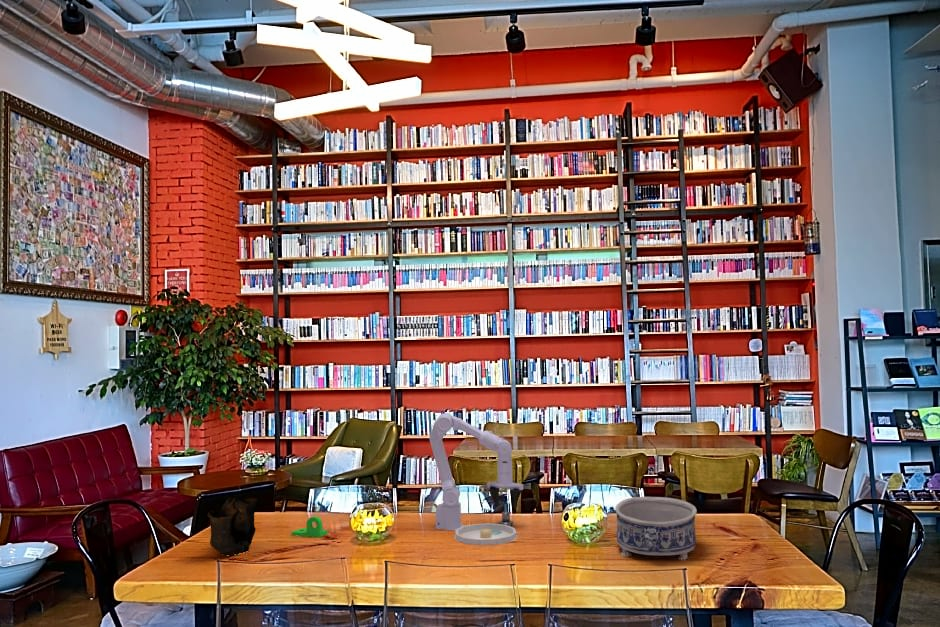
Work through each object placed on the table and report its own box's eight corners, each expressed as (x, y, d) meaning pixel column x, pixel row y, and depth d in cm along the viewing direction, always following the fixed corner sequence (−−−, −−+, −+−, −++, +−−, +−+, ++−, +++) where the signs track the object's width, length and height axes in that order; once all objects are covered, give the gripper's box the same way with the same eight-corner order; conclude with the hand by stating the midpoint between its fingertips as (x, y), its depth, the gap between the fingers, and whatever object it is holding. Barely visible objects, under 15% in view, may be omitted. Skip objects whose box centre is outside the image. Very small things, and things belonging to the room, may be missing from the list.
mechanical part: (327, 535, 275) (327, 513, 275) (319, 539, 269) (319, 517, 269) (299, 533, 278) (299, 512, 279) (291, 537, 273) (291, 516, 273)
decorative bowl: (622, 532, 269) (621, 491, 270) (697, 536, 262) (695, 494, 262) (611, 567, 229) (609, 519, 229) (699, 573, 221) (697, 524, 222)
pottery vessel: (237, 543, 265) (236, 489, 266) (265, 544, 263) (264, 489, 264) (200, 565, 240) (200, 504, 241) (231, 566, 238) (230, 505, 239)
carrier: (443, 543, 260) (442, 534, 260) (472, 527, 280) (471, 519, 280) (501, 550, 249) (501, 541, 249) (527, 533, 270) (526, 525, 270)
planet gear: (495, 527, 279) (495, 513, 280) (502, 524, 285) (502, 510, 285) (509, 529, 277) (509, 514, 277) (516, 525, 282) (515, 511, 282)
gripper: (483, 472, 281) (484, 507, 281) (517, 475, 274) (518, 511, 274) (491, 469, 287) (492, 504, 287) (525, 471, 281) (526, 507, 280)
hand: (505, 507), depth 281 cm, fingers open, 7 cm apart
